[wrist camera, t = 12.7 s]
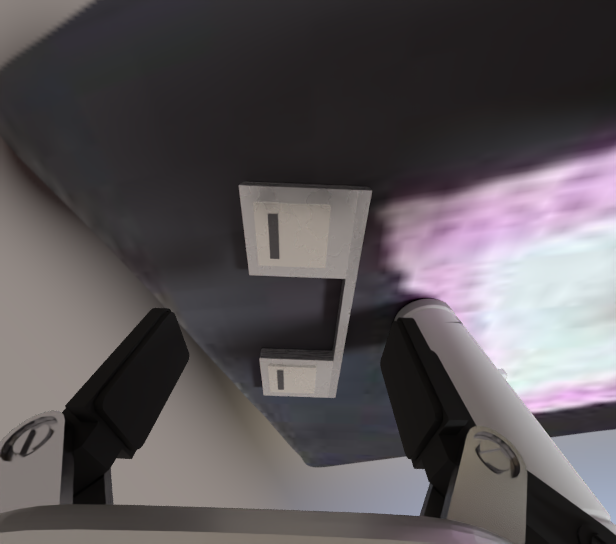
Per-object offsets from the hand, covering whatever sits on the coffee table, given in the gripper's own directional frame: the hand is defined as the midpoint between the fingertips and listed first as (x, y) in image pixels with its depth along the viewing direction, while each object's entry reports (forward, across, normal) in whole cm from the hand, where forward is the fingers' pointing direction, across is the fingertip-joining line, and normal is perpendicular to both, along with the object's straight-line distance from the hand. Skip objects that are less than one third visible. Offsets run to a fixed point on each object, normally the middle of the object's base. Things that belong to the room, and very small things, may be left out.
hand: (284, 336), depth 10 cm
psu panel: (+12, 0, +10) cm, 16 cm away
